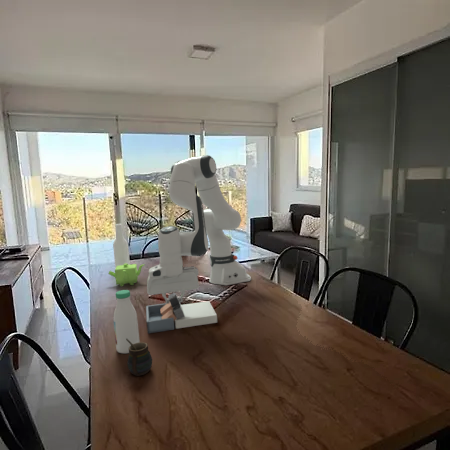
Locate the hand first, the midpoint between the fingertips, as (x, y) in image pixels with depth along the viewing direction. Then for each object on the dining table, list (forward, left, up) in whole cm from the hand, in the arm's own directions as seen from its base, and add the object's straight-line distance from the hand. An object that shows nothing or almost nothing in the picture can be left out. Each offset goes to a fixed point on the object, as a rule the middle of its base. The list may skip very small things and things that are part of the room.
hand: (174, 302), depth 138 cm
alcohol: (+25, -88, -8) cm, 92 cm away
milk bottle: (+18, +18, -8) cm, 26 cm away
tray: (+6, 0, -8) cm, 10 cm away
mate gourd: (+14, +34, -8) cm, 37 cm away
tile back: (+2, -5, -5) cm, 7 cm away
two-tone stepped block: (-2, 0, -4) cm, 4 cm away
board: (-7, 0, -8) cm, 11 cm away
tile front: (+2, +4, -5) cm, 7 cm away
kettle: (+21, -59, -8) cm, 63 cm away
